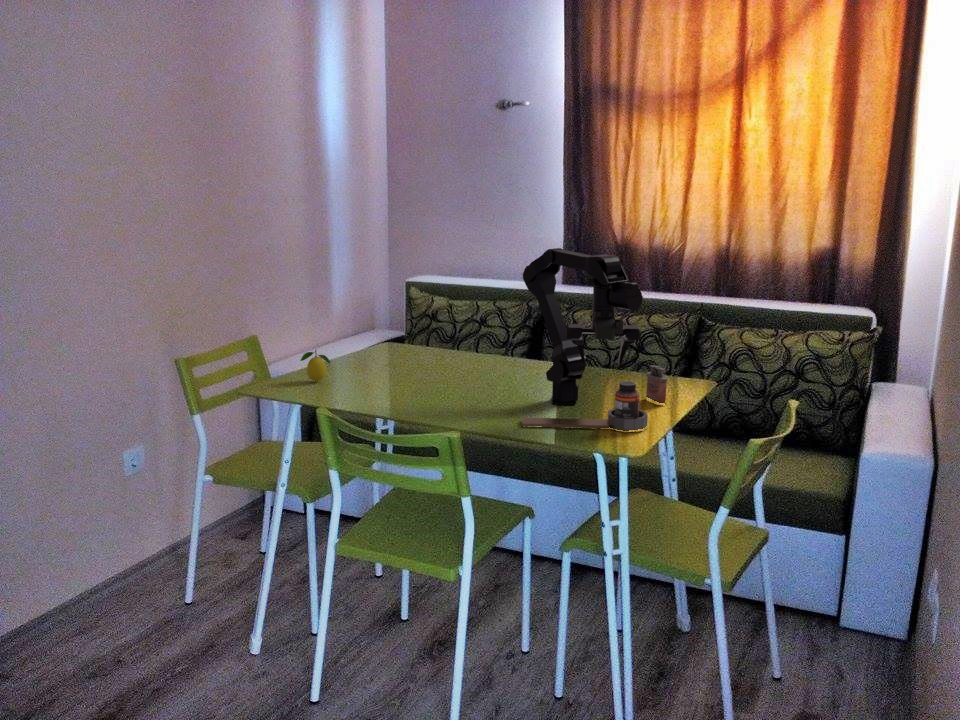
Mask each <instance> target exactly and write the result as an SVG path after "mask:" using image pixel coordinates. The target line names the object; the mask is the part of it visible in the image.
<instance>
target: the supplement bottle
mask: <svg viewBox="0 0 960 720" xmlns="http://www.w3.org/2000/svg"><path fill="white" fill-rule="evenodd" d="M618 388H619V389H618V390H617V391H615V395H614V409H615V416H616V417H621V418H639V410H640V393H639V391H638V390H637V389H636V388H637V383H636V382H635V381H631V380H624V381H620V382H619V387H618Z"/></svg>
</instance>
